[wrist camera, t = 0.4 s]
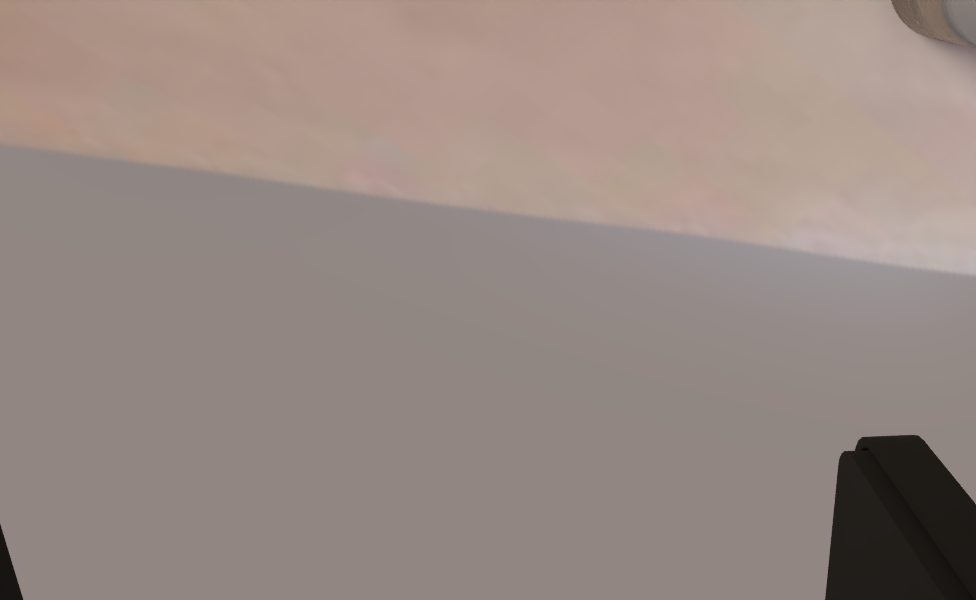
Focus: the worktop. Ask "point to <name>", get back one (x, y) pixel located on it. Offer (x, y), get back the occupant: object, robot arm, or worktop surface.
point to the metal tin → (940, 19)
